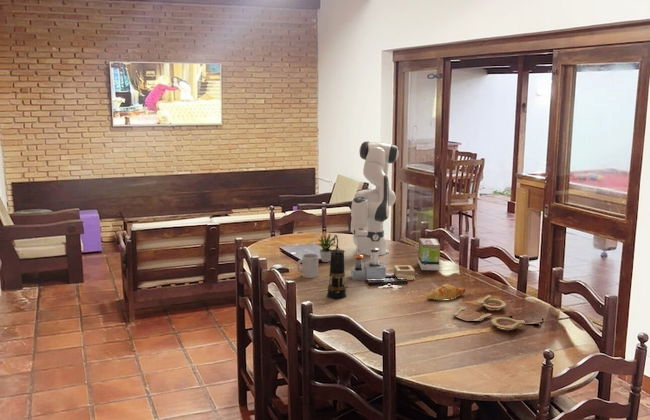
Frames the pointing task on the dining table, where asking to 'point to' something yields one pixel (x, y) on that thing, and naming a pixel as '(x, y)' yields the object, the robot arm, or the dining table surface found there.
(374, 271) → the socket block
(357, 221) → the robot arm
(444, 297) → the croissant
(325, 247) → the house plant
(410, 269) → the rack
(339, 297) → the lantern
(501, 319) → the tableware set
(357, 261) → the orange rounded piece
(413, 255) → the dining table surface
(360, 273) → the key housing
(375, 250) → the banded metal cylinder
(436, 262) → the tea box
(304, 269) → the mug
